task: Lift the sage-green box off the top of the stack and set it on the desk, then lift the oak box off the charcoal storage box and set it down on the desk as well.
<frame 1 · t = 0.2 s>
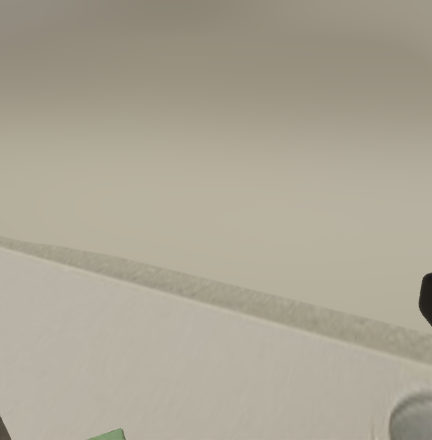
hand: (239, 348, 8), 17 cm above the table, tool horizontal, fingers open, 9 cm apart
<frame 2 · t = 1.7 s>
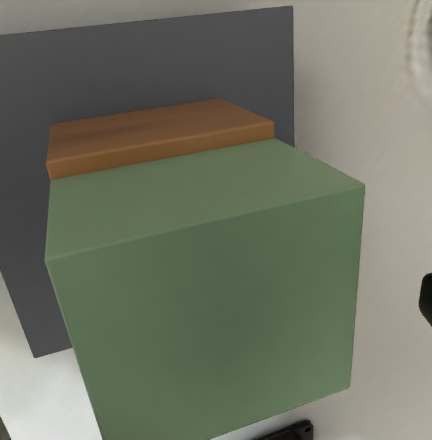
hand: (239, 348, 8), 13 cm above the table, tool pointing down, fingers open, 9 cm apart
oak box: (154, 195, 16), point 4 cm above the table, touching sage box, storage box
storage box: (137, 165, 19), on the table, touching oak box
sage box: (183, 249, 12), point 8 cm above the table, touching oak box
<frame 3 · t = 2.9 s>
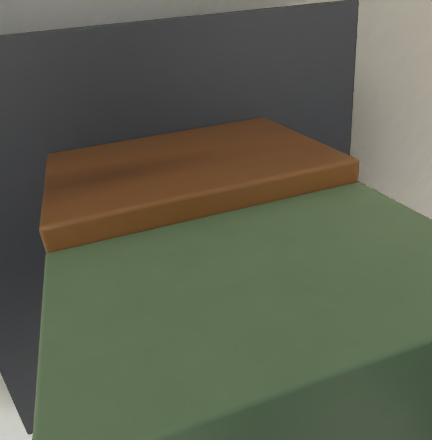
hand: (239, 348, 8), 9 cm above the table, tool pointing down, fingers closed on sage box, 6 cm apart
oak box: (178, 238, 13), point 4 cm above the table, touching sage box, storage box
storage box: (153, 192, 16), on the table, touching oak box
sage box: (228, 331, 9), point 8 cm above the table, touching gripper, oak box
when the fingers open (0 cm above the table, at t = 8.4 s): sage box stays where it is, on the table.
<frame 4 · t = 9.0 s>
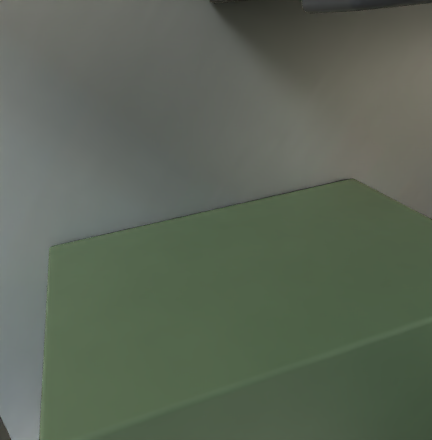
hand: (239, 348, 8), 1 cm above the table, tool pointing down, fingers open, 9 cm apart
sage box: (226, 324, 9), on the table
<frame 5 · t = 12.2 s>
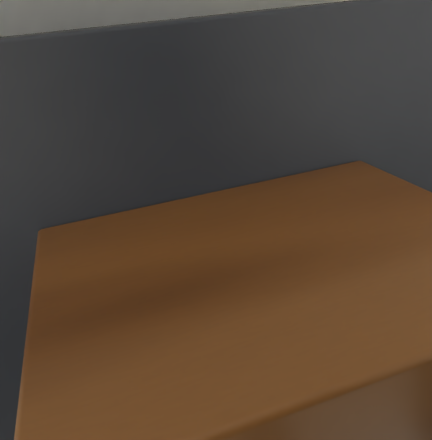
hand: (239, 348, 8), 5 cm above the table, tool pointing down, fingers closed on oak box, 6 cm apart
oak box: (228, 331, 9), point 4 cm above the table, touching gripper, storage box
storage box: (182, 245, 12), on the table, touching oak box
when the fingers open (1 cm above the table, at t = 18.4 s): oak box stays where it is, on the table.
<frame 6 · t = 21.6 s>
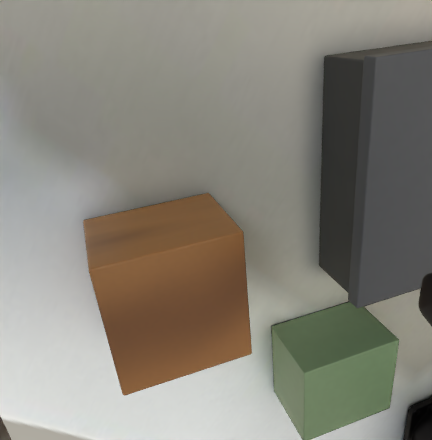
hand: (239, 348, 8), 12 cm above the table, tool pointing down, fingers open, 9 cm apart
oak box: (158, 263, 21), on the table
storage box: (411, 153, 23), on the table
sage box: (314, 346, 27), on the table
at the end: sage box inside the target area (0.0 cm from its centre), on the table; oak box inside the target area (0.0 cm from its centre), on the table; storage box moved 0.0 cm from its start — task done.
